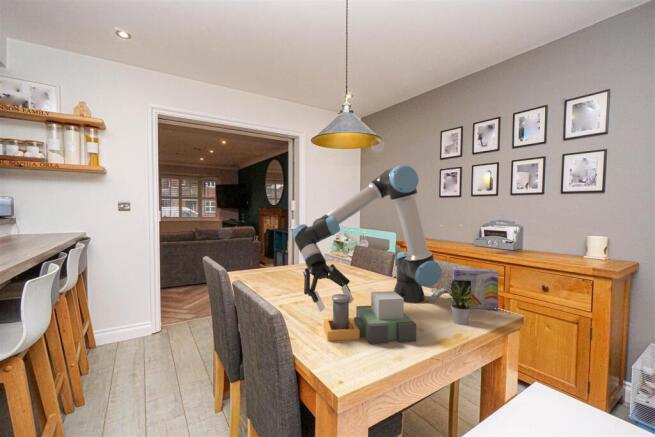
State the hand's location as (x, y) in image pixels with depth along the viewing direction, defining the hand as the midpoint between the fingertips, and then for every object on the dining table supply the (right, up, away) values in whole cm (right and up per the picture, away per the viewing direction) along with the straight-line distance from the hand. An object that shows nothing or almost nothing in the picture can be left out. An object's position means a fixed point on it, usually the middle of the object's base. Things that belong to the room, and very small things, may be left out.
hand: (337, 305), depth 101 cm
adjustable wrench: (+51, -9, +44) cm, 68 cm away
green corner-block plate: (+10, -10, +1) cm, 14 cm away
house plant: (+48, -10, +11) cm, 50 cm away
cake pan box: (+63, -9, +27) cm, 69 cm away
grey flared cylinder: (+1, -10, 0) cm, 10 cm away
